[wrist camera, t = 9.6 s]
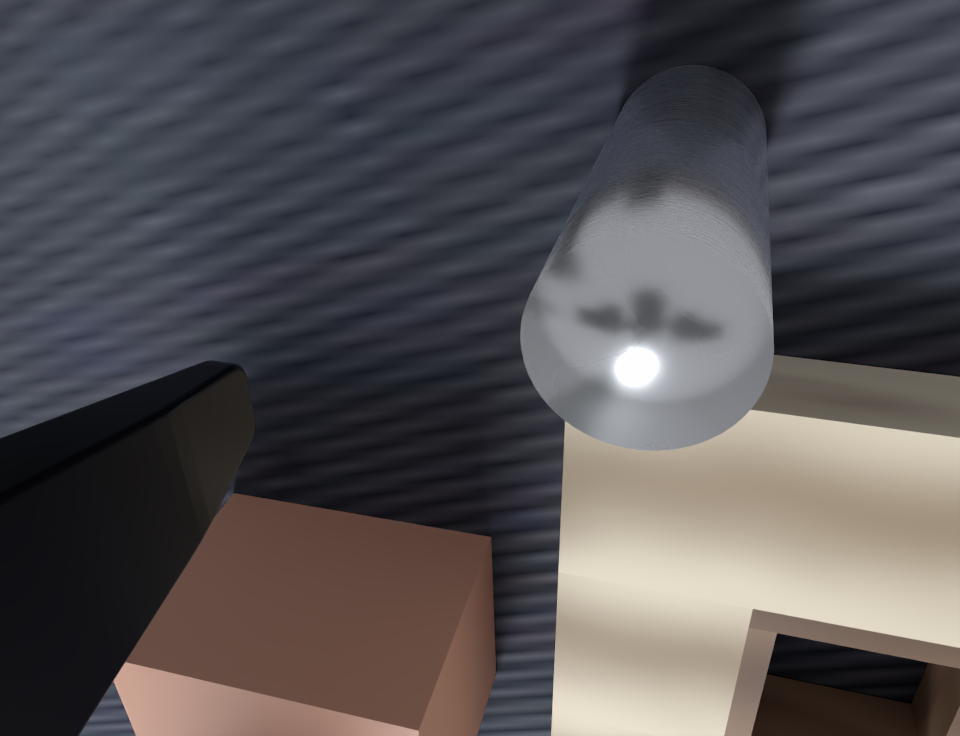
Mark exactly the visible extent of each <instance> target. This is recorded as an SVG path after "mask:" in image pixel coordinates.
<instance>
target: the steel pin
mask: <svg viewBox="0 0 960 736" xmlns="http://www.w3.org/2000/svg"><path fill="white" fill-rule="evenodd" d="M520 339H521V350H522V355H523V360H524V364H525V366H526V369H527V372H528V375H529V377H530V379H531V381H532V383H533V385H534V386H535V388H536V390H537V391H538V393H539V394H540V395H541V397H542V398H543V400H544V401H545V402H546V403H547V404H548V405H549V406H550V408H551V409H552V410H553V411H554V412H555V413H557V414H558V415H559V416H560V417H561V418H562V419H563V420H565V421H566V422H567V423H569V424H570V425H572V426H573V427H574V428H576V429H578V430H580V431H581V432H583V433H585V434H587V435H588V436H591V437H593V438H595V439H598V440H600V441H602V442H606V443H609V444H612V445H615V446H619V447H624V448H629V449H636V450H646V451H663V450H672V449H679V448H684V447H688V446H693V445H696V444H699V443H702V442H704V441H707V440H709V439H711V438H714V437H716V436H718V435H720V434H722V433H723V432H725V431H726V430H728V429H729V428H731V427H732V426H734V425H735V424H736V423H737V422H738V421H740V420H741V419H742V418H743V417H744V416H745V415H746V414H747V413H748V412H749V411H750V410H751V409H752V407H753V406H754V405H755V404H756V402H757V401H758V399H759V397H760V396H761V394H762V393H763V391H764V389H765V386H766V384H767V382H768V380H769V376H770V373H771V369H772V365H773V356H774V335H773V307H772V278H771V250H770V222H769V193H768V165H767V137H766V124H765V118H764V115H763V112H762V109H761V107H760V105H759V103H758V101H757V99H756V97H755V96H754V95H753V93H752V92H751V90H750V89H749V88H748V87H747V86H746V85H745V84H744V83H743V82H741V81H740V80H739V79H737V78H736V77H735V76H733V75H731V74H729V73H728V72H725V71H723V70H720V69H718V68H714V67H710V66H704V65H684V66H677V67H673V68H670V69H667V70H664V71H662V72H660V73H657V74H656V75H654V76H652V77H651V78H649V79H647V80H646V81H645V82H644V83H642V84H641V85H640V86H639V87H638V88H637V89H636V90H635V91H634V92H633V93H632V94H631V96H630V97H629V98H628V100H627V101H626V103H625V104H624V106H623V108H622V110H621V112H620V114H619V116H618V118H617V120H616V122H615V124H614V126H613V128H612V130H611V132H610V134H609V136H608V138H607V140H606V142H605V144H604V146H603V148H602V150H601V152H600V154H599V156H598V158H597V160H596V162H595V164H594V166H593V168H592V170H591V172H590V174H589V176H588V178H587V180H586V182H585V184H584V187H583V189H582V191H581V193H580V195H579V197H578V199H577V201H576V203H575V205H574V207H573V209H572V211H571V213H570V215H569V217H568V219H567V221H566V223H565V225H564V227H563V229H562V231H561V233H560V235H559V237H558V239H557V241H556V243H555V245H554V247H553V249H552V251H551V253H550V255H549V257H548V259H547V261H546V263H545V265H544V267H543V269H542V271H541V273H540V276H539V278H538V280H537V282H536V284H535V286H534V288H533V290H532V292H531V294H530V296H529V298H528V301H527V303H526V306H525V308H524V313H523V317H522V321H521V332H520Z"/></svg>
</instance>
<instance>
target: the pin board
mask: <svg viewBox="0 0 960 736" xmlns="http://www.w3.org/2000/svg"><path fill="white" fill-rule="evenodd" d="M777 633H779V634H784V635H789V636H795V637H800V638H805V639H810V640H815V641H820V642H825V643H831V644H836V645H841V646H846V647H851V648H856V649H861V650H866V651H872V652H877V653H882V654H887V655H892V656H897V657H902V658H908V659H913V660H918V661H923V662H928V664H927V666H926V669H925V671H924V674H923V676H922V679H921V681H920V684H919V686H918V688H917V691H916V693H915V696H914V698H913V701H912V703H911V704H909V703H904V702H899V701H894V700H889V699H884V698H880V697H875V696H870V695H865V694H860V693H855V692H850V691H846V690H841V689H836V688H831V687H826V686H821V685H817V684H812V683H807V682H802V681H797V680H792V679H787V678H783V677H778V676H773V675H768V674H767V671H768V667H769V663H770V659H771V655H772V651H773V647H774V643H775V639H776V635H777ZM551 736H960V377H957V376H949V375H940V374H932V373H923V372H915V371H907V370H898V369H890V368H881V367H873V366H865V365H856V364H848V363H839V362H831V361H823V360H814V359H806V358H797V357H789V356H780V355H774V356H773V365H772V369H771V373H770V376H769V380H768V382H767V384H766V386H765V389H764V391H763V393H762V394H761V396H760V397H759V399H758V401H757V402H756V404H755V405H754V406H753V407H752V409H751V410H750V411H749V412H748V413H747V414H746V415H745V416H744V417H743V418H742V419H741V420H740V421H738V422H737V423H736V424H735V425H734V426H732V427H731V428H729V429H728V430H726V431H725V432H723V433H722V434H720V435H718V436H716V437H714V438H711V439H709V440H707V441H704V442H702V443H699V444H696V445H693V446H688V447H684V448H679V449H672V450H663V451H646V450H636V449H629V448H624V447H619V446H615V445H612V444H609V443H606V442H602V441H600V440H598V439H595V438H593V437H591V436H588V435H587V434H585V433H583V432H581V431H580V430H578V429H576V428H574V427H573V426H572V425H570V424H569V423H567V422H566V421H565V437H564V459H563V482H562V505H561V527H560V550H559V573H558V595H557V618H556V641H555V663H554V686H553V709H552V731H551Z"/></svg>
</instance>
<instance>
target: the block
mask: <svg viewBox="0 0 960 736" xmlns="http://www.w3.org/2000/svg"><path fill="white" fill-rule="evenodd" d="M495 676H496V654H495V627H494V599H493V571H492V543H491V537H488V536H482V535H476V534H470V533H465V532H459V531H453V530H447V529H441V528H435V527H429V526H424V525H418V524H412V523H406V522H400V521H394V520H388V519H383V518H377V517H371V516H365V515H359V514H353V513H347V512H342V511H336V510H330V509H324V508H318V507H312V506H306V505H301V504H295V503H289V502H283V501H277V500H271V499H265V498H260V497H254V496H248V495H242V494H236V493H233V495H232V496H231V497H230V498H229V500H228V501H227V502H226V503H225V505H224V506H223V507H222V508H221V510H220V511H219V512H218V513H217V515H216V516H215V517H214V519H213V521H212V523H211V525H210V527H209V528H208V530H207V532H206V534H205V536H204V538H203V540H202V541H201V543H200V545H199V546H198V548H197V550H196V551H195V553H194V555H193V556H192V558H191V560H190V561H189V563H188V564H187V566H186V568H185V569H184V571H183V572H182V574H181V575H180V577H179V579H178V580H177V582H176V583H175V585H174V586H173V588H172V590H171V591H170V593H169V594H168V596H167V598H166V599H165V601H164V602H163V604H162V605H161V607H160V609H159V610H158V612H157V613H156V615H155V616H154V618H153V620H152V621H151V623H150V624H149V626H148V627H147V629H146V631H145V632H144V634H143V635H142V637H141V638H140V640H139V642H138V643H137V645H136V646H135V648H134V649H133V651H132V653H131V654H130V656H129V657H128V659H127V660H126V662H125V664H124V665H123V667H122V668H121V670H120V672H119V673H118V675H117V676H116V678H115V679H114V683H115V686H116V688H117V690H118V693H119V695H120V698H121V700H122V702H123V705H124V707H125V710H126V712H127V715H128V717H129V719H130V722H131V724H132V727H133V729H134V731H135V734H136V736H477V734H478V731H479V728H480V724H481V721H482V718H483V715H484V712H485V708H486V705H487V702H488V699H489V695H490V692H491V689H492V686H493V682H494V679H495Z"/></svg>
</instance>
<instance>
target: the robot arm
mask: <svg viewBox="0 0 960 736" xmlns="http://www.w3.org/2000/svg"><path fill="white" fill-rule="evenodd" d="M254 431H255V417H254V412H253V407H252V402H251V397H250V392H249V387H248V382H247V377H246V374H245V372H244V370H243V368H242V367H241V366H239V365H238V364H233V363H226V362H220V361H212V360H211V361H205V362H202V363H199V364H197V365H194V366H191V367H189V368H186V369H183V370H181V371H178V372H176V373H173V374H170V375H168V376H165V377H162V378H160V379H157V380H154V381H152V382H149V383H146V384H144V385H141V386H138V387H136V388H133V389H130V390H128V391H125V392H122V393H120V394H117V395H114V396H112V397H109V398H106V399H104V400H101V401H98V402H96V403H93V404H91V405H88V406H85V407H83V408H80V409H77V410H75V411H72V412H69V413H67V414H64V415H61V416H59V417H56V418H53V419H51V420H48V421H45V422H43V423H40V424H37V425H35V426H32V427H29V428H27V429H24V430H21V431H19V432H16V433H14V434H11V435H8V436H6V437H3V438H0V736H79V734H80V733H81V731H82V730H83V728H84V727H85V725H86V723H87V722H88V720H89V719H90V717H91V716H92V714H93V712H94V711H95V709H96V708H97V706H98V705H99V703H100V701H101V700H102V698H103V697H104V695H105V694H106V692H107V690H108V689H109V687H110V686H111V684H112V683H113V681H114V679H115V678H116V676H117V675H118V673H119V672H120V670H121V668H122V667H123V665H124V664H125V662H126V660H127V659H128V657H129V656H130V654H131V653H132V651H133V649H134V648H135V646H136V645H137V643H138V642H139V640H140V638H141V637H142V635H143V634H144V632H145V631H146V629H147V627H148V626H149V624H150V623H151V621H152V620H153V618H154V616H155V615H156V613H157V612H158V610H159V609H160V607H161V605H162V604H163V602H164V601H165V599H166V598H167V596H168V594H169V593H170V591H171V590H172V588H173V586H174V585H175V583H176V582H177V580H178V579H179V577H180V575H181V574H182V572H183V571H184V569H185V568H186V566H187V564H188V563H189V561H190V560H191V558H192V556H193V555H194V553H195V551H196V550H197V548H198V546H199V545H200V543H201V541H202V540H203V538H204V536H205V534H206V532H207V530H208V528H209V527H210V525H211V523H212V521H213V519H214V517H215V515H216V513H217V511H218V509H219V506H220V504H221V502H222V500H223V498H224V496H225V494H226V492H227V490H228V488H229V486H230V484H231V482H232V480H233V478H234V476H235V474H236V472H237V470H238V468H239V466H240V464H241V462H242V460H243V458H244V456H245V454H246V452H247V450H248V448H249V446H250V443H251V441H252V439H253V435H254Z"/></svg>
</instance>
